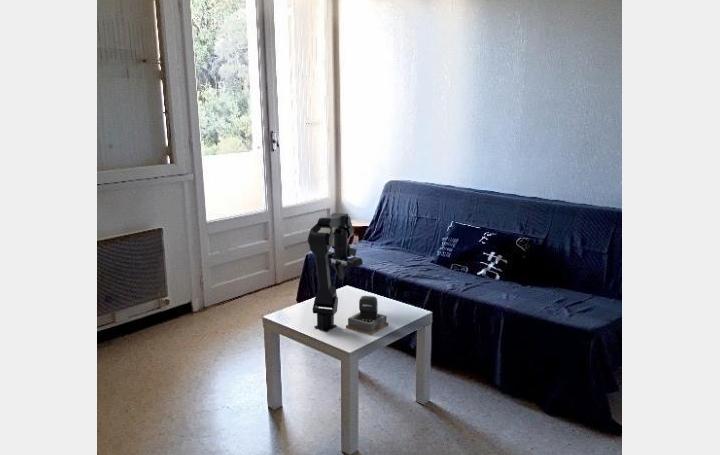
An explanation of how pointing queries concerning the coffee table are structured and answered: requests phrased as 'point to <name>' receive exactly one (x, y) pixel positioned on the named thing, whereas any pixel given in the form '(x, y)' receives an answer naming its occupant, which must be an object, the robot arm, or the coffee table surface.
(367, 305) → the battery charger
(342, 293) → the coffee table surface
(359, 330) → the dock
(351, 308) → the coffee table surface
